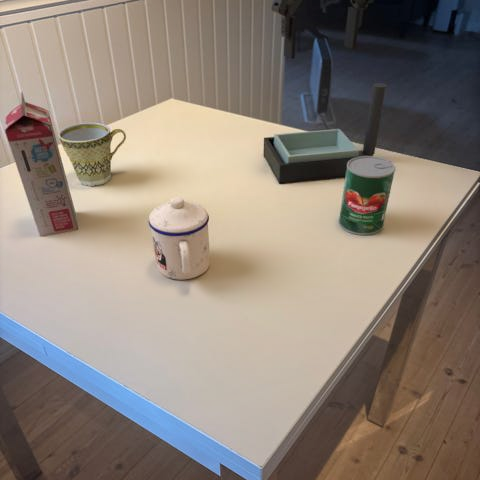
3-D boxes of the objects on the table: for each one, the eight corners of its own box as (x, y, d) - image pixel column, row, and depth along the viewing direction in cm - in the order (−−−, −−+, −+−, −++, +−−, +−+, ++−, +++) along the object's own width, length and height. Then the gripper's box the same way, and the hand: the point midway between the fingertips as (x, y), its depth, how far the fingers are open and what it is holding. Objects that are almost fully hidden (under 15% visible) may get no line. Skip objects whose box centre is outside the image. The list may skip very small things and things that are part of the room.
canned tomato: (346, 237, 85) (355, 177, 77) (333, 214, 91) (340, 157, 83) (389, 233, 86) (403, 174, 78) (374, 211, 91) (385, 154, 84)
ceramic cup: (75, 194, 98) (62, 145, 91) (66, 174, 105) (54, 127, 98) (138, 181, 102) (130, 133, 95) (126, 163, 108) (118, 117, 102)
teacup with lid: (153, 252, 82) (143, 188, 74) (207, 246, 83) (202, 182, 75) (159, 296, 73) (149, 229, 65) (219, 288, 74) (215, 221, 67)
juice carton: (75, 212, 92) (42, 89, 78) (78, 229, 88) (43, 102, 73) (39, 218, 91) (-2, 93, 76) (39, 236, 86) (-3, 107, 71)
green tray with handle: (363, 144, 112) (374, 76, 102) (384, 166, 103) (398, 93, 94) (273, 152, 110) (276, 83, 100) (287, 176, 101) (291, 102, 91)
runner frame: (338, 148, 113) (341, 131, 111) (362, 176, 102) (365, 157, 100) (263, 155, 111) (263, 137, 108) (279, 184, 100) (280, 165, 97)
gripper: (379, -98, 85) (361, 40, 99) (252, -93, 77) (252, 56, 91) (408, -97, 80) (385, 47, 94) (275, -92, 72) (272, 66, 86)
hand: (320, 52), depth 92 cm, fingers open, 13 cm apart
